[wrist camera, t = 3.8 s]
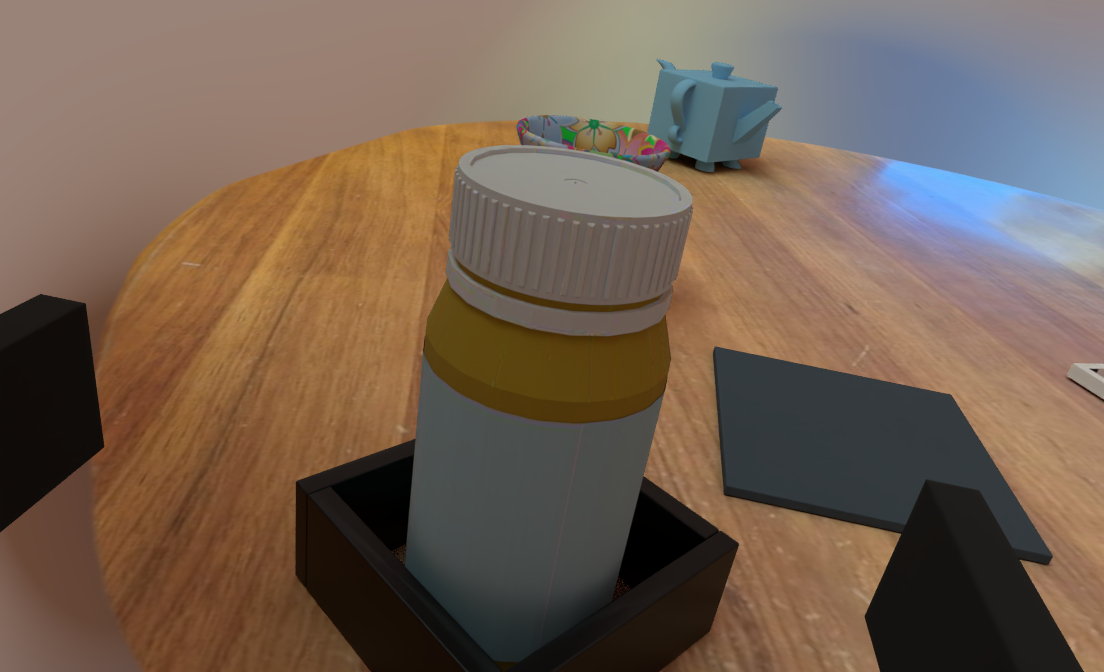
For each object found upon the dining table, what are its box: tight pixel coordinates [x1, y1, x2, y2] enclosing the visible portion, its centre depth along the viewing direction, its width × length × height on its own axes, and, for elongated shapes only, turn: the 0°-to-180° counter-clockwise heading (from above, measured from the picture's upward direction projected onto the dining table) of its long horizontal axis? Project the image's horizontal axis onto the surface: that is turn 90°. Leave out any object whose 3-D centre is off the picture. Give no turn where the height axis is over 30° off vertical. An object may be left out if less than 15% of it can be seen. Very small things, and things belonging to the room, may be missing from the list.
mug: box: [517, 115, 670, 172], centre depth 47 cm, size 12×9×11 cm
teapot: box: [647, 59, 782, 172], centre depth 91 cm, size 16×18×11 cm
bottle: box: [405, 145, 693, 672], centre depth 23 cm, size 7×7×15 cm
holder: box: [296, 439, 739, 672], centre depth 26 cm, size 10×10×4 cm
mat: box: [713, 347, 1053, 564], centre depth 40 cm, size 14×14×1 cm
